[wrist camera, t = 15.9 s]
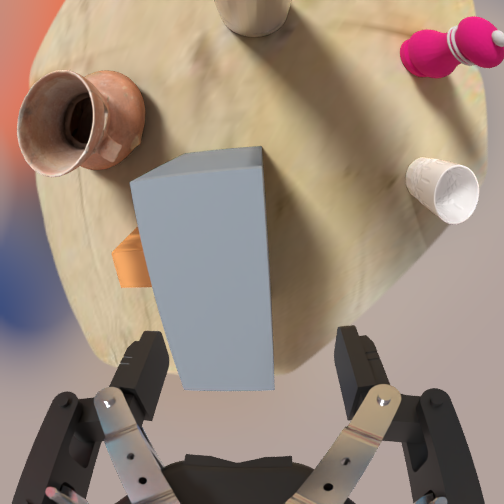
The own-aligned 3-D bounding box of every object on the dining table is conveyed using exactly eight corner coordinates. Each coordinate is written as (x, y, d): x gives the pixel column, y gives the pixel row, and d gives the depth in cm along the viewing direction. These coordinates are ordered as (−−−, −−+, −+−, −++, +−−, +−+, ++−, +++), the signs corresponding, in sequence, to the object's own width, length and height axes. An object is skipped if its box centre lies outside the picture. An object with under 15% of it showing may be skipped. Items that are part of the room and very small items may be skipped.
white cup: (450, 170, 39) (487, 186, 30) (427, 211, 42) (460, 234, 33) (416, 143, 38) (452, 152, 29) (392, 186, 41) (423, 206, 32)
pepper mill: (433, 87, 34) (524, 85, 16) (392, 68, 34) (476, 47, 16) (439, 48, 31) (526, 30, 13) (400, 28, 31) (479, -9, 13)
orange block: (147, 252, 47) (121, 287, 37) (141, 222, 45) (111, 252, 35) (176, 250, 47) (155, 287, 37) (171, 220, 45) (147, 250, 35)
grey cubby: (207, 301, 51) (184, 389, 33) (184, 153, 40) (129, 182, 23) (271, 299, 50) (274, 389, 32) (261, 146, 40) (261, 168, 22)
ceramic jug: (178, 105, 37) (138, 97, 24) (127, 188, 42) (77, 216, 29) (90, 54, 34) (33, 39, 21) (50, 132, 39) (-10, 143, 26)
